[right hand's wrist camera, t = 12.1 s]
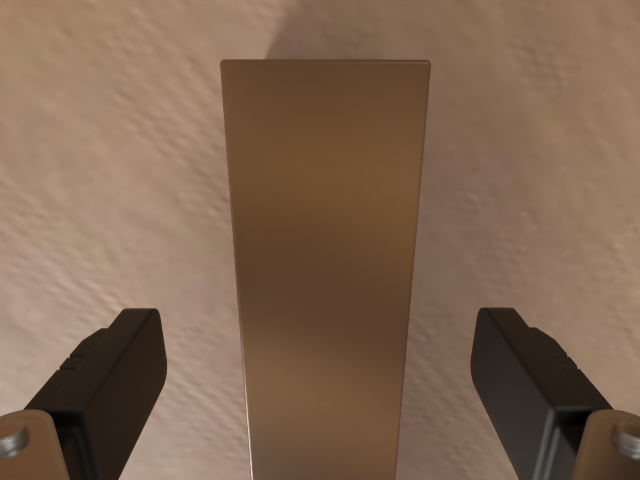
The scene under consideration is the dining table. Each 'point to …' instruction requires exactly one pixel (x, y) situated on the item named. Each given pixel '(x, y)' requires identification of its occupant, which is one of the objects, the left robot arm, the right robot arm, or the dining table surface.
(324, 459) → the beam
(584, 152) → the dining table surface
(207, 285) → the dining table surface
